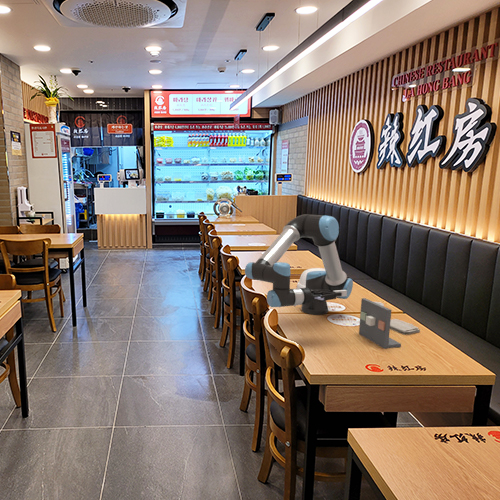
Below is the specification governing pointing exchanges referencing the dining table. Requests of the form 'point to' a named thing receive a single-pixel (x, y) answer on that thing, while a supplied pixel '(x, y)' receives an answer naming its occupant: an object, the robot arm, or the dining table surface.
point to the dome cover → (303, 277)
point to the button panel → (373, 331)
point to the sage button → (363, 316)
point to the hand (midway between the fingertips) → (345, 292)
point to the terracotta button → (381, 325)
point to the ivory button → (370, 320)
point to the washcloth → (403, 327)
